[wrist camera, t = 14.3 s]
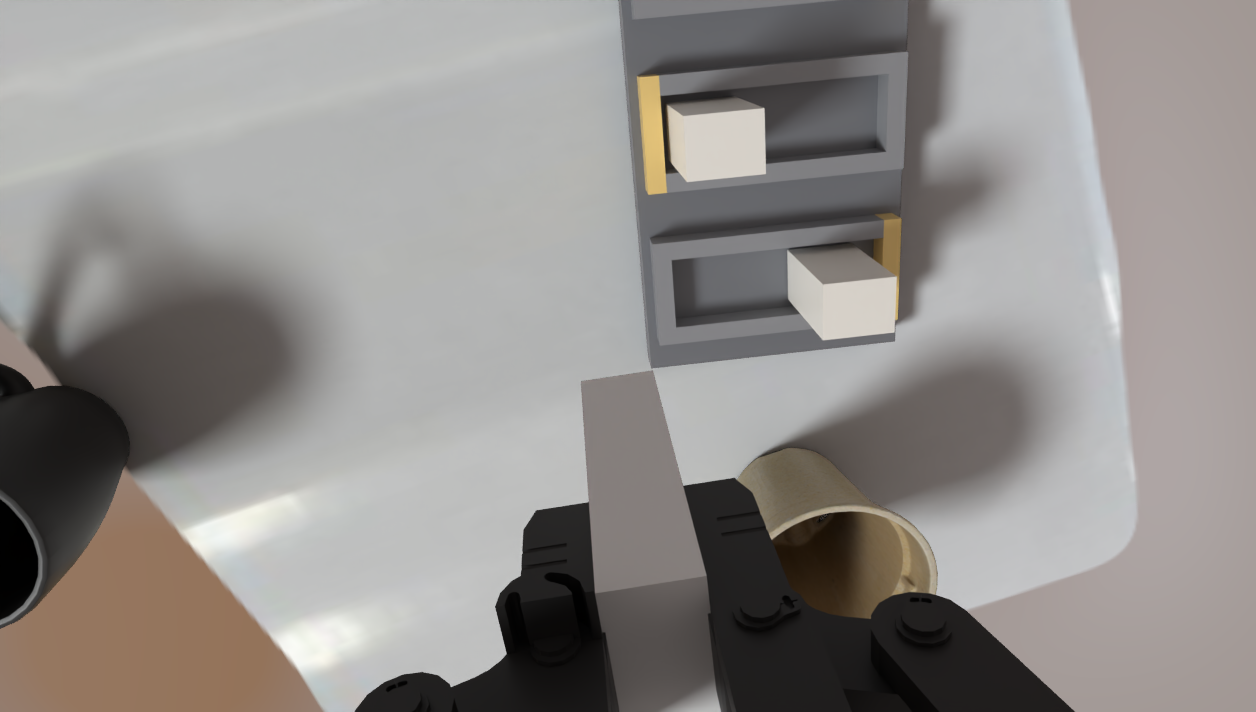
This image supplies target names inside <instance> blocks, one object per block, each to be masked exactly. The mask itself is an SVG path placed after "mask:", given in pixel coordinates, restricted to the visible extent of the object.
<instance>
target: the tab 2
mask: <svg viewBox="0 0 1256 712" xmlns="http://www.w3.org/2000/svg"><path fill="white" fill-rule="evenodd" d="M787 263H788V300H789V301H790V302H791V303H792V305H793V306H794V307H795V308H796V309H797V310H798V312H799V313H800V314H801V315H802V316H803V318H804V319H805V320H806V321H807V322H808V323H809V325H810V326H811V327H812V328H813V329H814V331H815V332H816V333H817V334H818V335H819V336H820V338H821V339H822V340H831V339H840V338H849V337H858V336H867V335H876V334H886V333H895V308H896V283H897V276H895V275H894V274H893V273H891V272H890V271H888V270H887V269H886V268H884V267H883V266H882V265H880V264H879V263H878V262H876V261H875V260H874V259H872V258H871V257H869V256H868V255H867V254H865V253H864V252H863V251H861V250H860V249H859V248H857V247H856V246H855V245H853V244H852V243H847V244H838V245H828V246H819V247H809V248H800V249H791V250H787Z"/></svg>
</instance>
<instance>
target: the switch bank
mask: <svg viewBox="0 0 1256 712" xmlns="http://www.w3.org/2000/svg"><path fill="white" fill-rule="evenodd" d="M618 1H619V13H620V25H621V37H622V49H623V61H624V73H625V85H626V97H627V109H628V121H629V132H630V144H631V156H632V168H633V180H634V192H635V204H636V216H637V228H638V240H639V252H640V264H641V276H642V288H643V300H644V312H645V324H646V336H647V348H648V358H649V361H650V365H651V368H659V367H668V366H677V365H686V364H695V363H704V362H713V361H722V360H731V359H740V358H749V357H758V356H767V355H776V354H785V353H794V352H803V351H812V350H821V349H830V348H839V347H848V346H857V345H866V344H875V343H884V342H893V341H895V333H886V334H876V335H867V336H858V337H849V338H840V339H831V340H822V339H821V338H820V336H819V335H818V334H817V333H816V332H815V331H814V329H813V328H812V327H811V326H810V325H809V323H808V322H807V321H806V320H805V319H804V318H803V316H802V315H801V314H800V313H799V312H798V310H797V309H796V308H795V307H794V306H793V305H792V303H791V302H790V301H789V300H788V263H787V250H791V249H800V248H809V247H819V246H828V245H838V244H847V243H852V244H853V245H855V246H856V247H857V248H859V249H860V250H861V251H863V252H864V253H865V254H867V255H868V256H869V257H871V258H872V259H874V260H875V261H876V262H878V263H879V264H880V265H882V266H883V267H884V268H886V269H887V270H888V271H890V272H891V273H893V274H894V275H895V276H897V283H896V308H895V327H896V320H898V297H899V272H900V247H901V223H902V218H900V201H901V175H902V169H904V149H905V124H906V99H907V75H908V51H906V49H907V24H908V0H618ZM733 96H735V97H738V98H740V99H743V100H745V101H748V102H750V103H753V104H755V105H758V106H760V107H763V108H765V152H766V174H762V175H753V176H743V177H733V178H723V179H713V180H704V181H694V182H687V181H686V180H685V179H684V178H683V177H682V175H681V174H680V173H679V172H678V171H677V169H676V168H675V167H674V166H673V165H672V163H671V162H670V161H669V156H668V141H667V126H666V111H665V103H671V102H682V101H692V100H702V99H712V98H722V97H733Z"/></svg>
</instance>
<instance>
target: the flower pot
mask: <svg viewBox="0 0 1256 712" xmlns="http://www.w3.org/2000/svg"><path fill="white" fill-rule="evenodd" d="M737 480H738V481H739V482H740V483H741V484H743V485H744V486H745V487H746V488H748V489H749V490H750V491H751V492H753V495H754V497H755V500H756V502H757V505H758V507H759V510H760V514H761V515H762V517H763V520H764V522H765V525H766V529H767V530H768V533H769V535H770V538H771V540H772V543H773V545H774V548H775V550H776V553H777V555H778V558H779V560H780V563H781V565H782V568H783V570H784V573H785V575H786V578H787V580H788V583H789V585H790V587H791V588H792V590H794V591H795V592H797V593H799V594H800V595H801V597H802V598H803V599H804V601H805V602H806V603H807V604H808V605H809V606H811V607H813V608H814V609H817V610H820V611H822V612H825V613H828V614H833V615H839V616H845V617H856V618H868V619H871V614H872V613H873V611H874V610H875V608H876V606H877V605H878V603H880V602H882V601H883V600H885V599H887V598H889V597H890V596H892V595H896V594H902V593H907V592H919V593H931V594H934V595H936V590H937V576H938V573H937V566H936V561H935V558H934V554H933V552H932V549H931V547H930V545H929V543H928V542H927V540H926V539H925V538H924V536H923V535H922V534H921V533H920V532H919V531H918V530H917V528H916V527H915V526H914V525H912V524H911V523H910V522H909V521H908V520H906V519H905V518H903V517H902V516H900V515H898V514H897V513H895V512H892V511H890V510H888V509H885V508H882V507H880V506H878V505H876V504H874V503H872V502H871V501H870V500H869V499H868V498H867V497H866V496H865V495H864V494H863V493H862V492H861V491H859V490H858V489H857V488H856V487H855V486H854V485H853V484H852V483H851V482H850V481H849V480H848V479H847V478H846V477H845V476H844V475H843V474H842V473H841V472H840V471H839V470H838V469H837V468H836V467H835V466H834V465H833V464H832V463H831V462H830V461H829V460H828V459H826V458H825V457H824V456H822V455H820V454H818V453H816V452H813V451H810V450H806V449H801V448H786V449H783V450H781V451H778V452H775V453H772V454H769V455H766V456H762V457H759V458H757V459H756V460H755V461H753V462H752V463H751V464H750V465H749V466H748V467H747V468H746V469H745V470H744V471H743V472H742V473H741V475H740V476H739V477H738V479H737ZM827 513H829V514H828V516H827V517H826V518H825V519H824V520H822V521H821V522H818V520H819V518H820V517H821V515H823V514H827Z"/></svg>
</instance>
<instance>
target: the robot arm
mask: <svg viewBox="0 0 1256 712" xmlns="http://www.w3.org/2000/svg"><path fill="white" fill-rule="evenodd" d="M581 391H582V406H583V421H584V436H585V451H586V466H587V481H588V495H589V502H588V503H582V504H575V505H569V506H562V507H556V508H549V509H543V510H536V512H535V513H534V515H533V516H532V518H531V520H530V521H529V523H528V524H527V526H526V527H525V529H524V533H523V549H522V550H523V554H522V570H521V576H520V577H518V578H516V579H515V580H513V581H511V582H510V583H509V584H508V586H507V587H506V588H505V589H504V590H503V591H502V592H501V593H500V595H499V598H498V601H497V603H496V606H495V608H496V612H497V616H498V620H499V624H500V628H501V632H502V636H503V640H504V644H505V648H506V652H507V654H506V656H505V657H504V658H503V659H502V660H501V661H500V662H499V663H497V664H496V665H495V666H494V667H492V668H491V669H490V670H488V671H486V672H484V673H482V674H480V675H479V676H477V677H475V678H472V679H470V680H468V681H465V682H463V683H461V684H458V685H456V686H453V687H450V684H449V683H447V682H446V681H445V680H443V679H442V678H441V677H440V676H438V675H433V674H429V673H424V672H420V673H412V674H404V675H401V676H399V677H396V678H394V679H391V680H389V681H387V682H384V683H383V684H381V685H380V686H379V687H377V688H376V689H375V690H373V691H372V692H371V693H369V694H368V695H367V696H366V697H365V699H364V700H363V701H362V702H361V704H360V705H359V706H358V707H357V709H356V710H355V712H1074V710H1072V709H1071V708H1070V707H1069V706H1068V705H1067V704H1066V703H1065V702H1064V701H1063V700H1062V699H1061V698H1059V697H1058V696H1057V695H1056V694H1055V693H1054V692H1053V691H1052V690H1051V689H1050V688H1049V687H1048V686H1047V685H1046V684H1044V683H1043V682H1042V681H1041V680H1040V679H1039V678H1038V677H1037V676H1036V675H1035V674H1034V673H1033V672H1032V671H1030V670H1029V669H1028V668H1027V667H1026V666H1025V665H1024V664H1023V663H1022V662H1021V661H1020V660H1019V659H1018V658H1016V657H1015V656H1014V655H1013V654H1012V653H1011V652H1010V651H1009V650H1008V649H1007V648H1006V647H1005V646H1004V645H1003V644H1001V643H1000V642H999V641H998V640H997V639H996V638H995V637H994V636H993V635H992V634H991V633H990V632H988V631H987V630H986V629H985V628H984V627H983V626H982V625H981V624H980V623H979V622H978V621H977V620H976V619H975V618H973V617H972V616H971V615H970V614H969V613H968V612H967V611H966V610H964V609H963V608H961V607H960V606H958V605H957V604H955V603H954V602H952V601H951V600H949V599H946V598H943V597H940V596H937V595H934V594H931V593H919V592H907V593H902V594H896V595H892V596H890V597H889V598H887V599H885V600H883V601H882V602H880V603H878V605H877V606H876V608H875V610H874V611H873V613H872V614H871V619H868V618H856V617H845V616H839V615H833V614H828V613H825V612H822V611H820V610H817V609H814V608H813V607H811V606H809V605H808V604H807V603H806V602H805V601H804V599H803V598H802V597H801V595H800V594H799V593H797V592H795V591H794V590H792V588H791V587H790V585H789V583H788V580H787V578H786V575H785V573H784V570H783V568H782V565H781V563H780V560H779V558H778V555H777V553H776V550H775V548H774V545H773V543H772V540H771V538H770V535H769V533H768V530H767V529H766V525H765V522H764V520H763V517H762V515H761V514H760V510H759V507H758V505H757V502H756V500H755V497H754V495H753V492H751V491H750V490H749V489H748V488H746V487H745V486H744V485H743V484H741V483H740V482H739V481H738V480H736V479H735V478H731V479H725V480H718V481H712V482H705V483H699V484H692V485H686V486H683V484H682V480H681V476H680V472H679V468H678V465H677V461H676V457H675V453H674V449H673V446H672V442H671V438H670V434H669V430H668V427H667V423H666V419H665V415H664V411H663V407H662V404H661V400H660V396H659V392H658V388H657V385H656V381H655V377H654V373H653V371H646V372H639V373H633V374H626V375H619V376H613V377H606V378H600V379H593V380H586V381H581Z"/></svg>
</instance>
